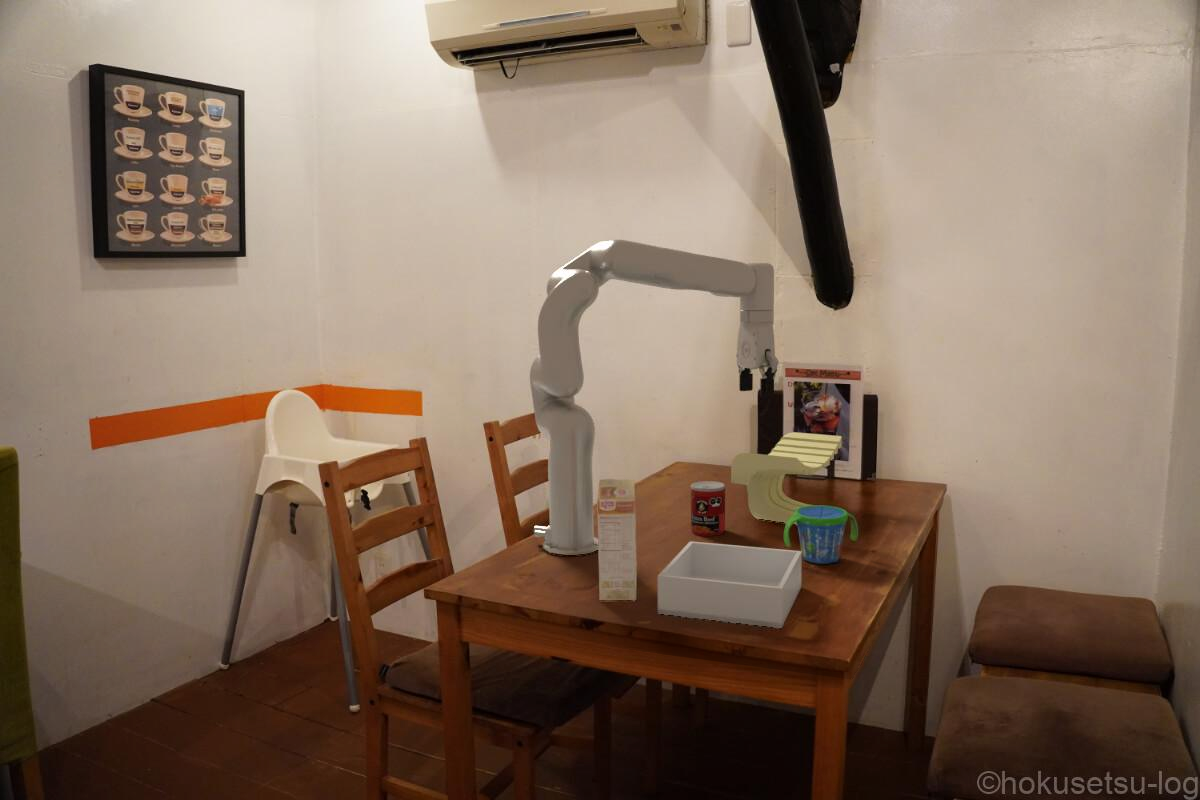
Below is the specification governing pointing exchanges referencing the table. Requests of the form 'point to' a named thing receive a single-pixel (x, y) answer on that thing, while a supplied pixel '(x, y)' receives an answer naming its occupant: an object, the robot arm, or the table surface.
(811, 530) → the snack cup
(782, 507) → the slatted curved stool
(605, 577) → the coffeecake box
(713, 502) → the canned food
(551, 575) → the table surface
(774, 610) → the bin
